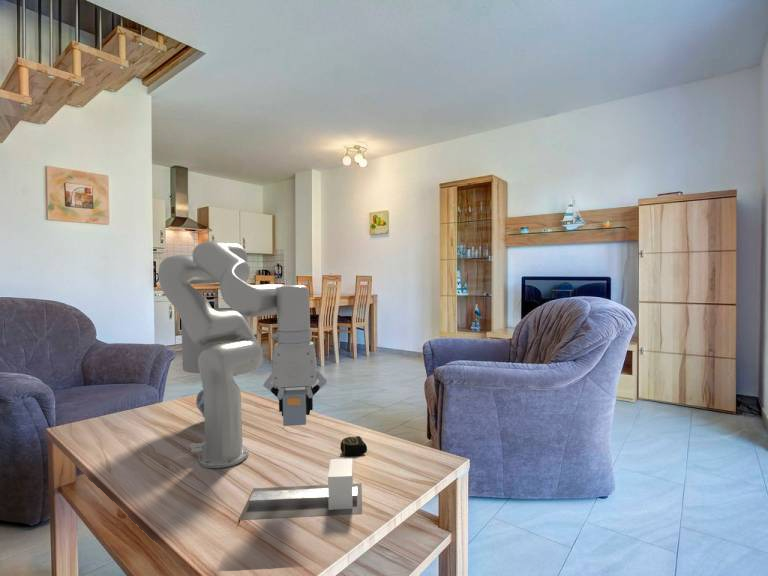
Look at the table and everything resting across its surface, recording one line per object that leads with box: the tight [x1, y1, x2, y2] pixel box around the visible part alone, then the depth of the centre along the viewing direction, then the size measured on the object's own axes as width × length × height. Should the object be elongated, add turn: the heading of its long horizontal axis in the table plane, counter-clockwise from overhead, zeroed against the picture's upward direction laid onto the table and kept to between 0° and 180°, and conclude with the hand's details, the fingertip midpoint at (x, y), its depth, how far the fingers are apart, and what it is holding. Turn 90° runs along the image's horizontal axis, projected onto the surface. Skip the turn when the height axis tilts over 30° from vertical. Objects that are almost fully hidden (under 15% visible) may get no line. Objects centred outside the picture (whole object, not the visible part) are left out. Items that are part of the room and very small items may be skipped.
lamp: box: [180, 307, 251, 424], centre depth 139 cm, size 22×22×38 cm
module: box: [282, 387, 307, 427], centre depth 96 cm, size 5×8×7 cm, turn 6°
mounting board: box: [237, 482, 363, 525], centre depth 89 cm, size 25×12×1 cm, turn 94°
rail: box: [248, 487, 357, 507], centre depth 89 cm, size 23×4×2 cm, turn 94°
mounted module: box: [327, 458, 354, 510], centre depth 89 cm, size 5×8×7 cm, turn 4°
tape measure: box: [340, 435, 368, 457], centre depth 114 cm, size 7×7×4 cm
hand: (296, 413), depth 96 cm, fingers closed on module, 5 cm apart
